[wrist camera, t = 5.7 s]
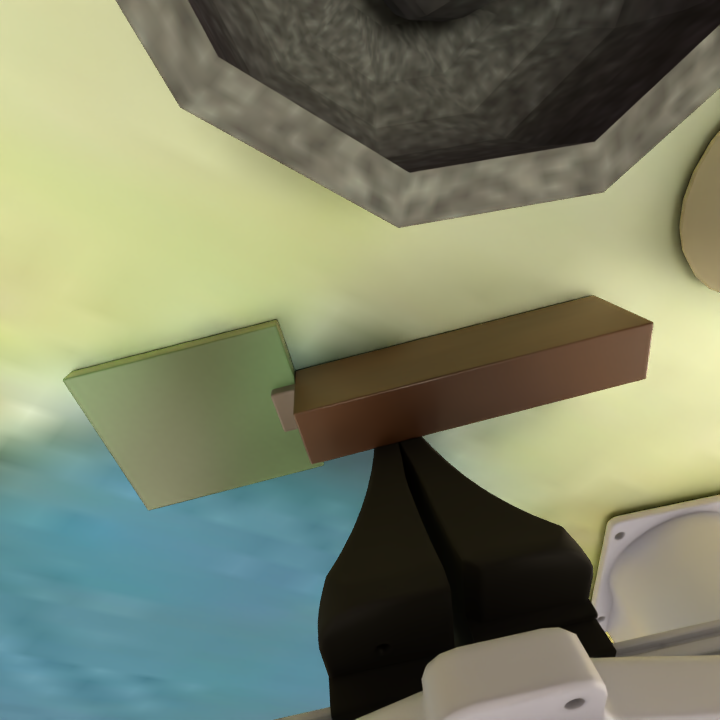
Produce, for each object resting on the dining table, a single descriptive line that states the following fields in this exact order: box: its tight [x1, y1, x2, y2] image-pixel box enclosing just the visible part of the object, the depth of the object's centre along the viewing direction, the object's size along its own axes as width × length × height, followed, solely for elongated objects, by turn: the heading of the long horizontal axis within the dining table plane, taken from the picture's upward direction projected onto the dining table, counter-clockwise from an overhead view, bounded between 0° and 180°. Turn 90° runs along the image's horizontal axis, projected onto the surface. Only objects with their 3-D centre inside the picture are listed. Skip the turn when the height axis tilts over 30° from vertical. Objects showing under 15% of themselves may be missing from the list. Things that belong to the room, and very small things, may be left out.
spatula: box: [63, 295, 653, 510], centre depth 13 cm, size 18×6×3 cm, turn 102°
